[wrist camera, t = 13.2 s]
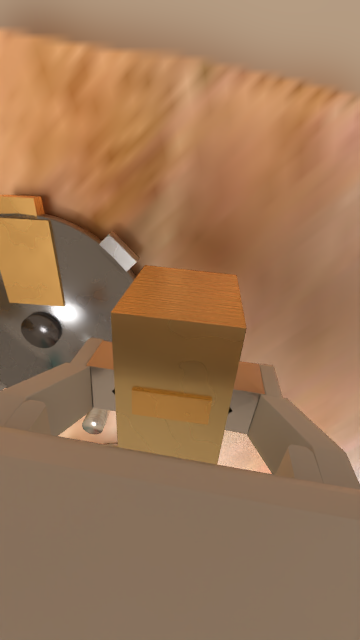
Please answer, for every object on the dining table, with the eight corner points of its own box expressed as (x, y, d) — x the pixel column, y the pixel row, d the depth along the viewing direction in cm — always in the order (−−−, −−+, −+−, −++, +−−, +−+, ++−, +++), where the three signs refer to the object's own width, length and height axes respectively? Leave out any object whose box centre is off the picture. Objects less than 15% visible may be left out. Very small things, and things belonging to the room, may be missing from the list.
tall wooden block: (236, 274, 11) (246, 330, 7) (215, 394, 13) (215, 476, 10) (144, 265, 11) (109, 314, 7) (143, 384, 14) (117, 461, 10)
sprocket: (7, 122, 17) (-79, 105, 12) (214, 334, 23) (216, 384, 18) (-105, 309, 25) (-187, 348, 20) (74, 432, 31) (47, 487, 26)
